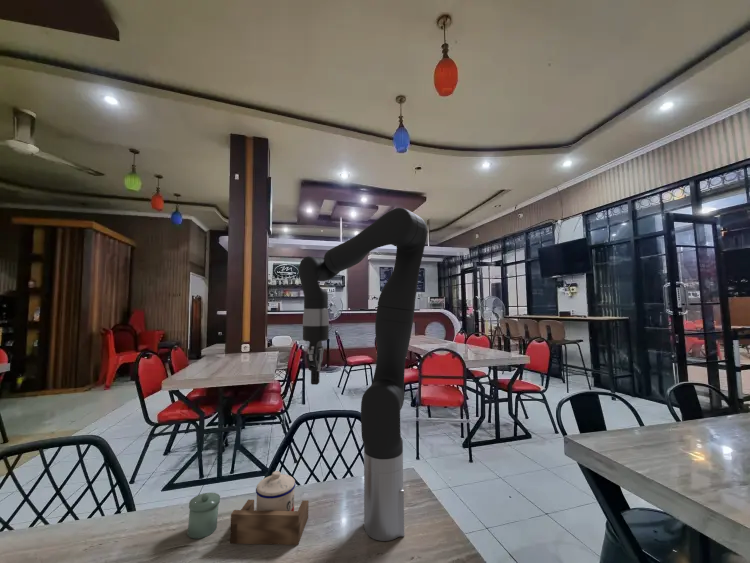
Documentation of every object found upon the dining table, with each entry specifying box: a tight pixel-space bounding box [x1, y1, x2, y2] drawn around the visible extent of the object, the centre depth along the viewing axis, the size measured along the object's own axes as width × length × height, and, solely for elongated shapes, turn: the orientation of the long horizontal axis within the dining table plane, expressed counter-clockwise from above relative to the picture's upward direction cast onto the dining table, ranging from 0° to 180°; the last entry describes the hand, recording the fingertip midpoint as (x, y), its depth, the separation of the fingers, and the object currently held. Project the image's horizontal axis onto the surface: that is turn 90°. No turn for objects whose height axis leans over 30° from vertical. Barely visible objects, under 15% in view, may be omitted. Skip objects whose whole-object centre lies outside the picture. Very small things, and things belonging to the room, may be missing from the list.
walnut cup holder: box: [229, 499, 310, 546], centre depth 74 cm, size 15×9×6 cm, turn 88°
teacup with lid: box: [255, 470, 296, 511], centre depth 78 cm, size 12×9×12 cm
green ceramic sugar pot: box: [187, 492, 221, 539], centre depth 75 cm, size 6×6×8 cm
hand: (315, 383), depth 94 cm, fingers closed
